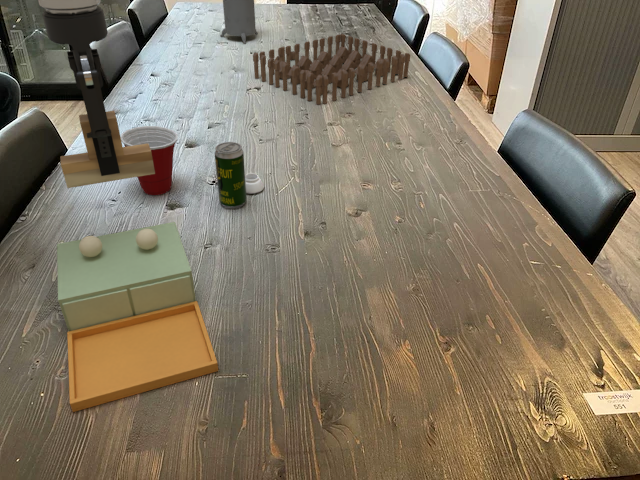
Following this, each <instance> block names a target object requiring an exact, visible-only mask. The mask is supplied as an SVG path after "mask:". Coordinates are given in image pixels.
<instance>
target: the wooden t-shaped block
mask: <svg viewBox="0 0 640 480" xmlns="http://www.w3.org/2000/svg"><path fill="white" fill-rule="evenodd" d="M106 115H107V120H108V124H109V129H111V135H112V139H113V144H114V148H115V153H116V157H117V162H118V166H119V171H120V173H118V174H111V175H105V176H101V172H100V168H99V164H98V160H97V156H96V152H95V148H94V143H93V139H92V138H87V133H90V132H91V128H90V124H89V120H88V116H87V113H86V114H85V113H84V114H79V115H78V118H79V124H80V128H81V132H82V136H83V141H84V145H85V148H86V152H80V153H73V154H68V155H61V156H60V158H59V159H60V167H61V171H62V174H63V177H64V181H65V184H66V188H67V189H71V188H72V189H73V188H79V187H85V186H90V185H97V184H103V183H109V182H114V181H120V180H126V179H132V178H137V177H139V176H145V175H151V174H155V170H154V164H153V159H152V153H151V149H150V147H149V144H141V145H134V146H127V147H125V146H123V142H122V141H121V133H120V129H119V124H118V123H119V122H118V118H117V114H116V112H115V110H109V111H106Z"/></svg>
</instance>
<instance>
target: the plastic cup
mask: <svg viewBox="0 0 640 480" xmlns="http://www.w3.org/2000/svg"><path fill="white" fill-rule="evenodd" d="M120 137H121V142H122V145H124V147H127V146H134V145H141V144H149V147H150V149H151V153H152V159H153V164H154V170H155V174H151V175H145V176H139V177H136V178H137V179H138V183H139V185H140V187H141V189H142V191H143V192H144V194H147V195H149V196H160V195H163V194H167V193H168V192H170V190H171V189H172V185H173V170H174V168H173V167H174V166H173V165H174V152H175V147H176V142H177V141H178V138H179V134H178V133H177V132H176V131H175V130H173V129H170V128H168V127H163V126H157V125H144V126H143V125H142V126H136V127H132V128H129V129H126V130H125V131H123V132H122V133H120Z"/></svg>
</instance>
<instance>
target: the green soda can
mask: <svg viewBox="0 0 640 480" xmlns="http://www.w3.org/2000/svg"><path fill="white" fill-rule="evenodd" d="M214 150H215V151H214V163H215V171H216V172H215V173H216V181H217V192H218V201H219V204H220V205H221V206H222V207H223V208H225V209H228V210H236V209H240V208H242V207H243V206H245V205H246V202H247V199H248V198H247V193H246V182H245V175H246V171H245V170H246V169H245V155H244V150H243V146H242V144H240V143H238V142H236V141H235V142H233V141H226V142H221V143H219V144H217V145H215V147H214Z"/></svg>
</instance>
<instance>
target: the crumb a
mask: <svg viewBox="0 0 640 480" xmlns="http://www.w3.org/2000/svg"><path fill="white" fill-rule="evenodd" d="M80 240H81V239H80ZM79 250H80V252H81V253H82V254H83V255H84V256H86V257H95V256H97V255H98V254H99V253H100V252H101V250H102V242H101V241H100V239H99V238H97V236H96V235H87V236H84V237H83V238H82V240H81V241H80V244H79Z"/></svg>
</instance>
